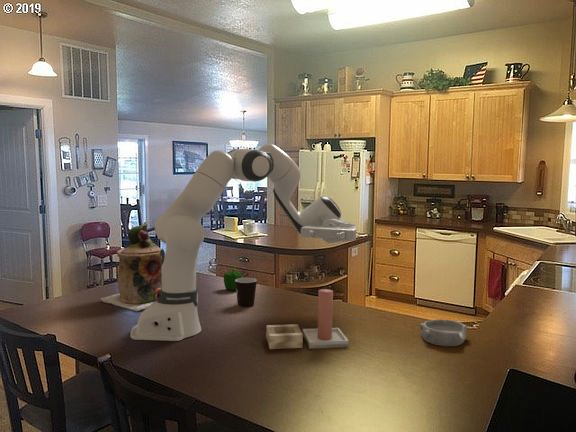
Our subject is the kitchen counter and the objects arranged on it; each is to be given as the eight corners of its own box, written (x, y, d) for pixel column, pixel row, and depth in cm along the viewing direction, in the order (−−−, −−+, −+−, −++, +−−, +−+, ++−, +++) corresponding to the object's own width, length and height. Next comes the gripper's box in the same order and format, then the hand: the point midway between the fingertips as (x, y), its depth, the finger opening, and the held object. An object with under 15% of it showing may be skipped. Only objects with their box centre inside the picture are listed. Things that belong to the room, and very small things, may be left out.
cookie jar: (97, 302, 189) (95, 223, 186) (146, 289, 210) (144, 218, 207) (139, 312, 176) (138, 227, 173) (186, 298, 197) (186, 222, 194)
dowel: (319, 340, 146) (320, 293, 145) (316, 335, 151) (317, 289, 149) (333, 339, 147) (334, 292, 146) (330, 335, 151) (331, 289, 150)
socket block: (269, 349, 141) (269, 336, 141) (266, 337, 151) (266, 325, 151) (302, 347, 143) (302, 334, 142) (297, 336, 153) (297, 324, 152)
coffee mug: (253, 308, 183) (253, 283, 182) (232, 307, 184) (232, 282, 183) (261, 300, 194) (261, 276, 193) (240, 299, 196) (241, 275, 195)
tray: (309, 348, 142) (309, 342, 142) (302, 335, 154) (302, 329, 154) (348, 347, 144) (348, 340, 144) (338, 333, 156) (338, 327, 155)
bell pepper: (222, 288, 214) (222, 266, 213) (240, 287, 216) (240, 265, 215) (224, 292, 206) (224, 270, 205) (243, 291, 208) (243, 269, 207)
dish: (466, 335, 156) (466, 321, 155) (467, 350, 143) (468, 334, 142) (420, 330, 160) (421, 316, 160) (417, 344, 147) (418, 329, 147)
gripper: (305, 221, 181) (296, 225, 167) (358, 223, 175) (354, 227, 162) (304, 237, 181) (296, 242, 168) (358, 240, 176) (353, 245, 163)
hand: (325, 235), depth 165 cm, fingers open, 8 cm apart
